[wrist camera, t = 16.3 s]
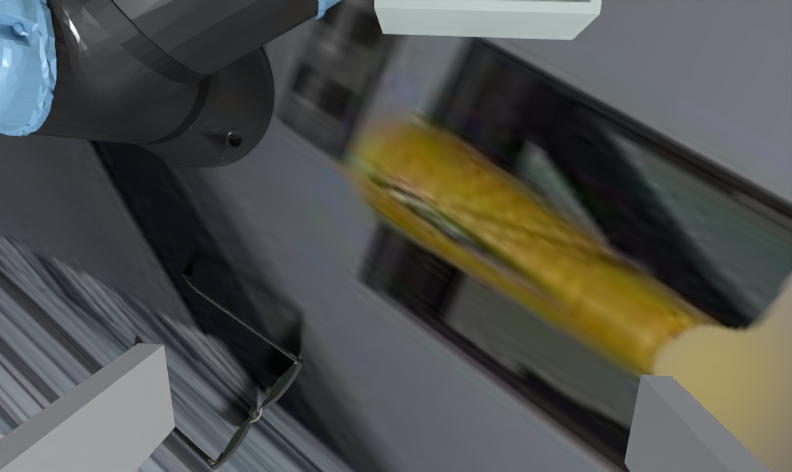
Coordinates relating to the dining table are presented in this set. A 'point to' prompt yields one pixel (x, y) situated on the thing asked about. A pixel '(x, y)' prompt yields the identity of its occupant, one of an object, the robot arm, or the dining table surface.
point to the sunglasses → (272, 398)
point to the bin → (488, 17)
